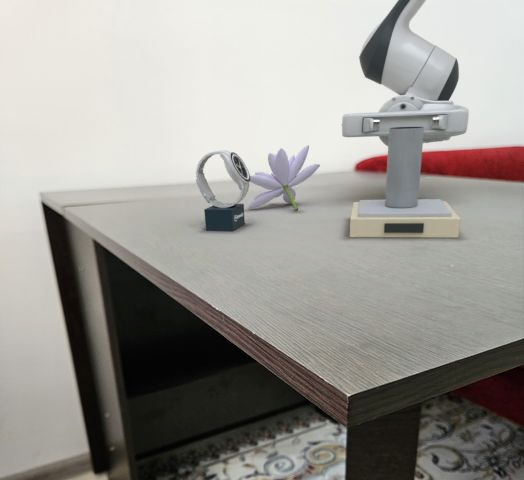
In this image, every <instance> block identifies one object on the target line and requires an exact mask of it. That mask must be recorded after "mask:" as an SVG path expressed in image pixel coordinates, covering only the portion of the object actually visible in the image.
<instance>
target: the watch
mask: <svg viewBox="0 0 524 480" xmlns="http://www.w3.org/2000/svg"><path fill="white" fill-rule="evenodd" d="M215 155H219V157H220V158H221V159H222V160H223V163H224V164H223V165H224V167H225V169H226V172H227V174H228V176H229V177H230V178H231V180H232V181H233V182H234V183H235V184H236V185H237V186H238V189H239V191H240V194H239V195H238V197H237V199H236V200H235V201H234V202H229V203H225V202H221V201H219V200H217V198H216V195H215V194H214V192H213V191H212V189H211V187H210V185H209V183H208V180H207V178H206V177H205V176H206V175H205V172H204V169H205V165H206V163H207V161H209V159H211V158H212V156H215ZM195 175H196V176H195V178H196V179H195V182H196V184H197V188H198V189H199V192H200V193H201V195H202V197H203V198H204V200H205V201H206V202H207V203H208V204H211V205H210V206H209V207H207V208H204V209H203V211H204V222H205V223H204V224H205V231H209V232H210V231H211V232H234V231H236V230H238V229H239V228H241V227H243V226H244V225H245V224H246V223H245V222H246V221H245V204H244V203H240V202H242V201H243V200H244V199H245V197H246V196H247V195H248V192H249V189H250V183H251V182H250V176H251V174H250V171H249V169H248V167H247V165H246V164H245V162H244V160H243V159H242V158H241V157H240V156H239V155H238V154H237V153H236V152H235V151H228V150H216V151H212V152H208V153H207V154H205V155H203V157H201V158H200V160H199V162H198V163H197V166H196V170H195Z"/></svg>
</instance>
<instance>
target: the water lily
mask: <svg viewBox="0 0 524 480" xmlns="http://www.w3.org/2000/svg"><path fill="white" fill-rule="evenodd" d="M309 150H310V144H308V145H306V146H304V147H302V148H301V150H300V151H299V152H298V153H297V154H296V156H295V154H292V156H290V158H289V157H288V154H287V152H286V151H285V150H284V149H283V148H279V150H278V151H277V153H272V152H269V153H268V156H267V162H268V163H267V164H268V166H269V168H270V171H271V172H272V173H268V172H265V171H256V172H255V173H254V175H250V182H249V183H252V184H254V185H256V186H258V187H261V188H262V189H265V190H269V191H264V192H261V193H259V194H258V195H256V196H255V197H254V199H253V201H252V202H251V203H249V205H248V207H247V210H253V209H255V208H258V207H261V206H264V205H266V204H267V203H268V202H271V201H272V200H273V199H276V198H279V197H281V196H282V199H283V201H284V202H285V203H286V204H287V203H288V204H291V205H292V208H293V210H294V211H295V212H296V211H298V210H299V207H298V205H297V203H296V201H295V200H296V197H297V193H296V190H295V189H294V188H293V187H296V186H298V185H300V184H302V183H303V182H305V181H306V180H308V179H309V178H310V177H311V176H313V174H315V172H316V171H318V169H319V168H320V166H321V165H320V164H319V163H314V164H310V165H309V166H308V165H307V167H305V168H303V166H304V164H305V162H306V160H307V157H308V153H309ZM302 168H303V169H302Z"/></svg>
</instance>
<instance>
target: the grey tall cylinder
mask: <svg viewBox="0 0 524 480" xmlns="http://www.w3.org/2000/svg"><path fill="white" fill-rule="evenodd" d="M423 134H424V127H393V128H389V141H388V146H387V159H386V161H387V162H386V177H385V195H384V200H385V206H387V207H392V208H411V207H415V206H417V205H418V199H419V194H420V181H421V171H422V170H421V169H422V157H423V147H424V145H423V144H424V143H423Z"/></svg>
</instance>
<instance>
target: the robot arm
mask: <svg viewBox="0 0 524 480" xmlns="http://www.w3.org/2000/svg"><path fill="white" fill-rule="evenodd" d="M426 1H427V0H397V1H396V3H395V4H394V5H393V7H392V8H391V9H390V11H389V12H388V14H387V15H386V16H385V18H383V19H382V20H381V21H380V22H379V23H378V24H377V25H376V26H375V27H374V28H373V29H372V31H371V32H370V33H369V34H368V36H367V38H366V39H365V41H364V43H363V45H362V47H361V49H360V54H359V56H358V59H359V64H360V68H361V71H362V74H363V77H364V78H366V79H367V80H370V81H371V82H374V83H376V84H378V85H381V86H384V87H386V88H387V89H389V90H390V91H392V92H394V93H396V94H397V95H396V96H394V97H392V98H390V99H388V100H386V102H385V103H383V104H382V106H381V107H380V108H379V110H378V112H375V111H374V112H357V113H352V112H351V113H345V114H343V115H342V119H341V120H342V121H341V136H342V137H343V138H367V137H378V138H379V140H380V141H381V142H382V143H383V145H385V146H386V147H388V141H389V128H393V127H424V134H423V144H428V143H436V142H437V143H438V142H443V141H444V142H445V141H449V140H451V137H456V136H461V135H464V134H466V133H467V130H468V124H469V114H470V111H469V108H468V107H465V106H464V105H459V104H455V102H454V101H453V100H450V99H451V97H452V96H453V94H454V92H455V90H456V88H457V85H458V83H459V78H460V68H459V62H458V59H457V57H455V56H454V55H452V54H450V53H449V52H447V51H446V50H444V49H442V48H441V47H439V46H438V45H435V44H433V43H432V42H430V41H428V40H427V39H425V38H423V37H422V36H420V35H419V34H418V33H417V34H416V33H415V32H414V31H412V30H411V27H410V23H411V21H412V20H413V19H414V17H415V16H416V15H417V13H418V12H419V11H420V9H421V8H422V7H423V5H424V4H425V3H426Z"/></svg>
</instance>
